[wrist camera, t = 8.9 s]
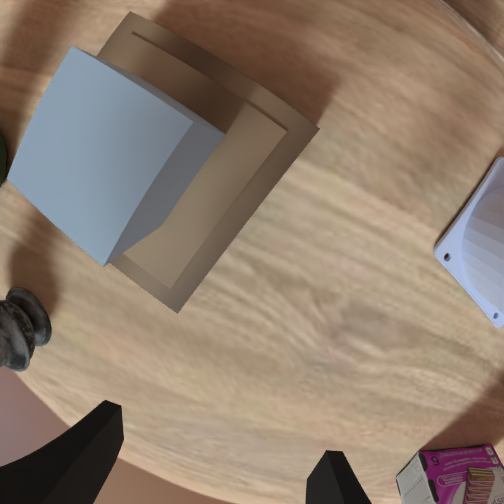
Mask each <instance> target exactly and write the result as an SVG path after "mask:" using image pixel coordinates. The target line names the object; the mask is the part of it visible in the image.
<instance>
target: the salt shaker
mask: <svg viewBox="0 0 504 504" xmlns="http://www.w3.org/2000/svg"><path fill="white" fill-rule="evenodd" d="M50 337H51V325H50V321H49V318H48V315H47V313H46V311H45V309H44V308H43V306H42V304H41V303H40V302H39V300H38V299H37V298H36V297H35V296H34V295H33V294H32V293H31V292H29V291H28V290H26V289H24V288H20V287H15V288H12V289H11V290H10V291H9V292H8V293H7V296H6V301H5V300H0V367H2V366H3V365H4V366H6V367H8V368H9V369H11V370H13V371H18V372H22V371H24V370H26V369H27V368H28V366H29V363H30V359H31V357H32V355H33V352H34V349H35V346H44V345H46V344H47V343H48V341H49V340H50Z"/></svg>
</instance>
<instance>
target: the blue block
mask: <svg viewBox="0 0 504 504" xmlns="http://www.w3.org/2000/svg"><path fill="white" fill-rule="evenodd" d="M225 135H226V134H224V133H223V132H222V131H220V130H219V129H217V128H216V127H214V126H213V125H212V124H210V123H209V122H207V121H206V120H204V119H203V118H201V117H200V116H199V115H197V114H196V113H194V112H193V111H191V110H190V109H188V108H187V107H185V106H184V105H182V104H181V103H179V102H178V101H176V100H175V99H173V98H172V97H170V96H169V95H167V94H165V93H164V92H162V91H161V90H159V89H158V88H156V87H155V86H153V85H151V84H150V83H148V82H147V81H145V80H143V79H142V78H140V77H138V76H136V75H134V74H132V73H130V72H128V71H126V70H124V69H122V68H120V67H118V66H116V65H114V64H112V63H110V62H108V61H105V60H103V59H101V58H99V57H97V56H94V55H92V54H90V53H88V52H86V51H83V50H81V49H79V48H76V47H74V46H72V47H71V49H70V50H69V52H68V53H67V55H66V57H65V58H64V60H63V61H62V63H61V65H60V66H59V68H58V70H57V71H56V73H55V75H54V77H53V78H52V80H51V82H50V84H49V85H48V87H47V89H46V91H45V93H44V95H43V97H42V99H41V100H40V102H39V104H38V106H37V108H36V110H35V112H34V114H33V116H32V119H31V121H30V123H29V125H28V127H27V129H26V132H25V134H24V136H23V138H22V141H21V143H20V145H19V148H18V150H17V153H16V155H15V158H14V160H13V163H12V166H11V168H10V171H9V174H8V177H7V180H8V181H9V182H10V183H11V184H12V185H13V186H14V187H15V188H16V189H17V190H18V191H19V192H20V193H21V194H22V195H23V196H24V197H25V198H26V199H27V200H28V201H30V202H31V203H32V204H33V205H34V206H35V207H36V208H37V209H38V210H39V211H40V212H41V213H42V214H43V215H44V216H45V217H47V218H48V219H49V220H50V221H51V222H52V223H53V224H54V225H55V226H56V227H58V228H59V229H60V230H61V231H62V232H63V233H64V234H65V235H67V236H68V237H69V238H70V239H71V240H72V241H73V242H75V243H76V244H77V245H78V246H79V247H80V248H82V249H83V250H84V251H85V252H86V253H88V254H89V255H90V256H91V257H92V258H94V259H95V260H96V261H97V262H98V263H100V264H101V265H102V266H103V267H104V266H105V265H106V264H108V263H109V262H111V261H112V260H113V259H115V258H116V257H118V256H119V255H120V254H122V253H123V252H125V251H126V250H127V249H129V248H130V247H132V246H133V245H135V244H136V243H138V242H139V241H140V240H142V239H143V238H145V237H146V236H148V235H149V234H151V233H152V232H154V231H155V230H157V229H158V228H160V227H161V226H162V225H163V223H164V222H165V220H166V219H167V217H168V216H169V214H170V213H171V211H172V210H173V208H174V207H175V205H176V204H177V202H178V201H179V199H180V198H181V196H182V195H183V193H184V192H185V190H186V189H187V188H188V186H189V185H190V183H191V182H192V180H193V179H194V177H195V176H196V175H197V173H198V172H199V170H200V169H201V168H202V166H203V165H204V163H205V162H206V161H207V159H208V158H209V157H210V155H211V154H212V152H213V151H214V150H215V148H216V147H217V146H218V144H219V143H220V142H221V140H222V139H223V138H224V136H225Z"/></svg>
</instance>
